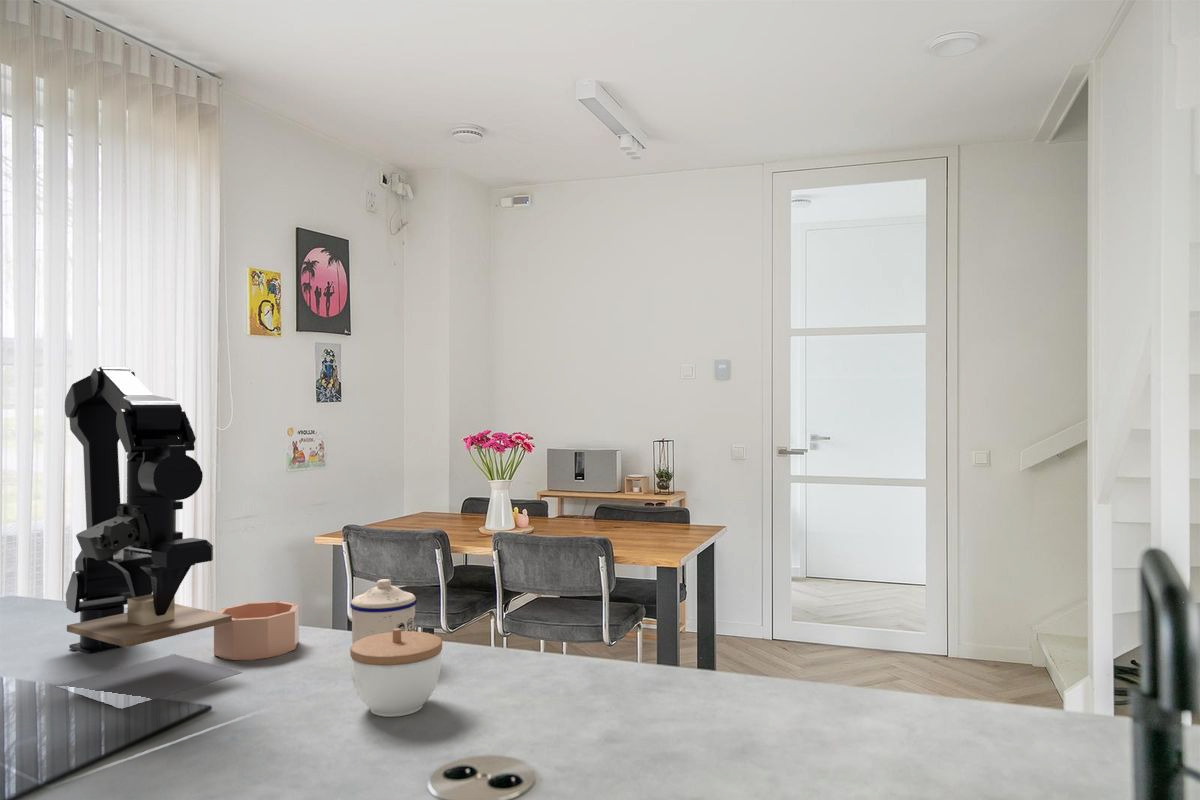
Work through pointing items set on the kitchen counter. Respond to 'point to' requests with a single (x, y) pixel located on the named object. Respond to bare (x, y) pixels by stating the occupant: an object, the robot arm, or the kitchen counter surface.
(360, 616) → the teacup with lid
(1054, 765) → the kitchen counter surface
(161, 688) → the mat
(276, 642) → the bowl
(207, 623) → the cover
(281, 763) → the kitchen counter surface
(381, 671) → the lidded jar
